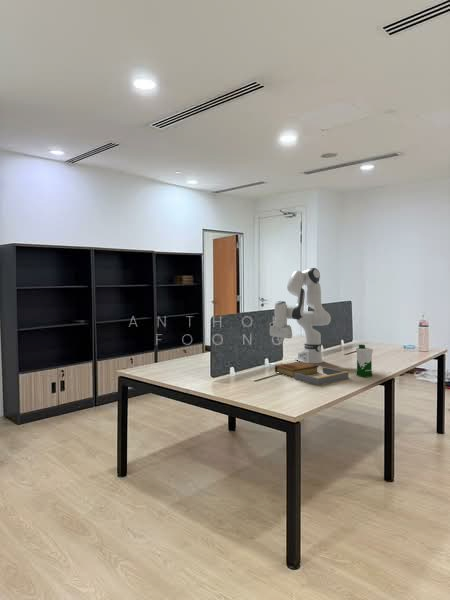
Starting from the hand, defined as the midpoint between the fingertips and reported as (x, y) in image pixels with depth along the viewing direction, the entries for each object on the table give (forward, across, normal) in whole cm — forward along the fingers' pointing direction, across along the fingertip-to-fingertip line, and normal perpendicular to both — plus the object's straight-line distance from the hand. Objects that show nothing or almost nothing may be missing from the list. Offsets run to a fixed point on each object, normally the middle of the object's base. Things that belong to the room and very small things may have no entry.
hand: (280, 343), depth 298 cm
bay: (+18, -37, 0) cm, 41 cm away
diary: (+19, -15, 0) cm, 24 cm away
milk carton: (+18, -49, -28) cm, 60 cm away
